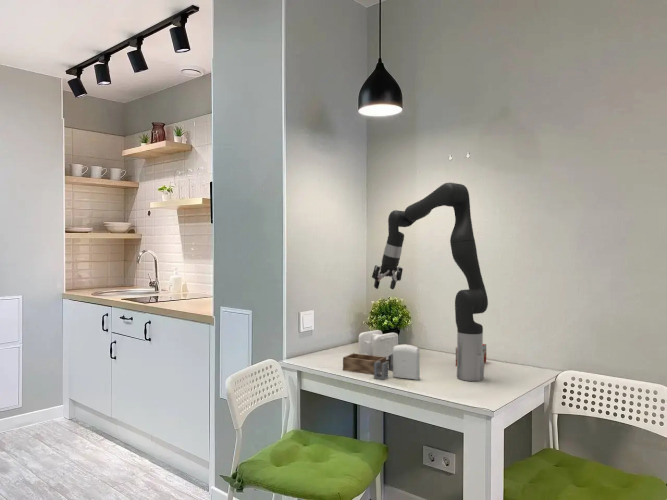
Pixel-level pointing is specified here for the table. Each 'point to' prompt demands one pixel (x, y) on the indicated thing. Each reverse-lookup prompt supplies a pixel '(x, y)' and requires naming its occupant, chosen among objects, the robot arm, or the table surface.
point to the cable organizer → (377, 343)
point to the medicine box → (483, 351)
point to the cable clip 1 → (378, 370)
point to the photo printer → (406, 362)
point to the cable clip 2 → (390, 362)
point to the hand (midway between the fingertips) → (384, 288)
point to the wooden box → (361, 363)
